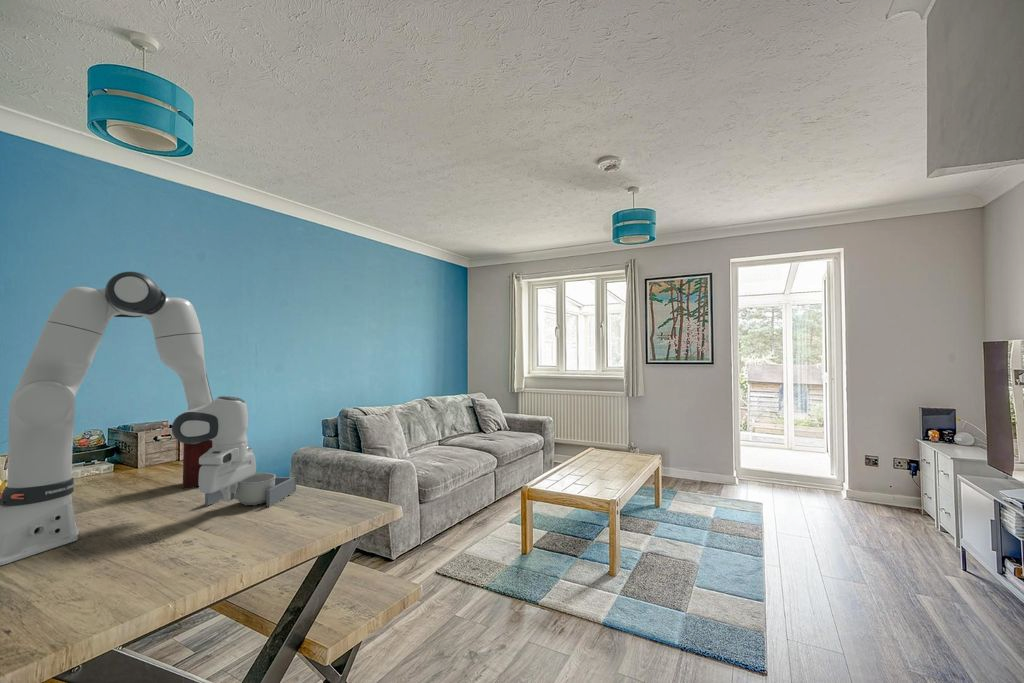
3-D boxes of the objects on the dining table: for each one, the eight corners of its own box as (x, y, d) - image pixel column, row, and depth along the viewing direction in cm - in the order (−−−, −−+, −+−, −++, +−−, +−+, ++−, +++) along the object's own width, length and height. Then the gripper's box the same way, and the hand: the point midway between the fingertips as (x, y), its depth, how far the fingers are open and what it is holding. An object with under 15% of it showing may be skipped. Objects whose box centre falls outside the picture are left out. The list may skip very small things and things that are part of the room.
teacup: (278, 496, 148) (278, 471, 148) (271, 506, 137) (271, 479, 138) (229, 500, 144) (229, 474, 144) (217, 510, 133) (218, 482, 134)
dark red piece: (212, 478, 171) (213, 402, 172) (213, 484, 162) (215, 405, 163) (182, 481, 166) (184, 404, 167) (182, 489, 157) (184, 406, 158)
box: (269, 507, 137) (269, 490, 137) (204, 506, 138) (205, 489, 138) (295, 492, 152) (295, 477, 152) (237, 491, 153) (237, 476, 153)
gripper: (242, 445, 145) (241, 489, 144) (194, 459, 124) (192, 511, 124) (262, 445, 144) (261, 490, 144) (216, 459, 124) (215, 511, 123)
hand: (229, 500), depth 134 cm, fingers closed
